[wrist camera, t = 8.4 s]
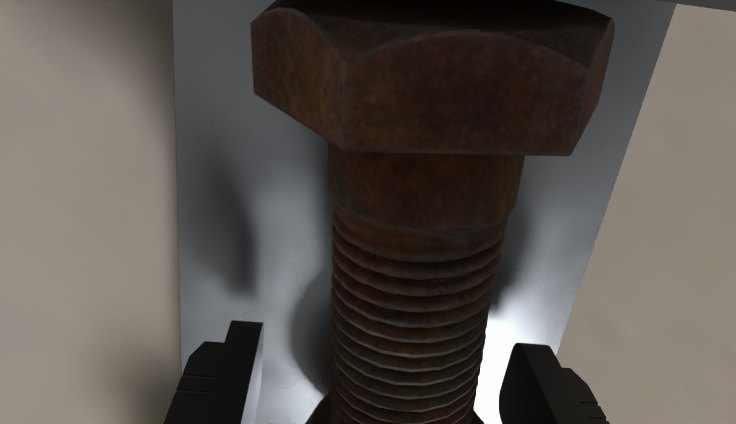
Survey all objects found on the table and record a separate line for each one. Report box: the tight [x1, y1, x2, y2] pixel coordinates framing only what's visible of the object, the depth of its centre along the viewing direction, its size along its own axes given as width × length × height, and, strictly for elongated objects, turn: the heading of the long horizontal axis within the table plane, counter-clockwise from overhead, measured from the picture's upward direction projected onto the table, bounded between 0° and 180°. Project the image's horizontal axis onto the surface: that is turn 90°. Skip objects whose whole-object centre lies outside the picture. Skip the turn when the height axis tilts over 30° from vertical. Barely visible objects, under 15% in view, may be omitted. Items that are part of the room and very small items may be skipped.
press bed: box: [172, 0, 736, 424], centre depth 13 cm, size 10×24×8 cm, turn 173°
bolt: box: [250, 0, 615, 424], centre depth 12 cm, size 6×5×15 cm
